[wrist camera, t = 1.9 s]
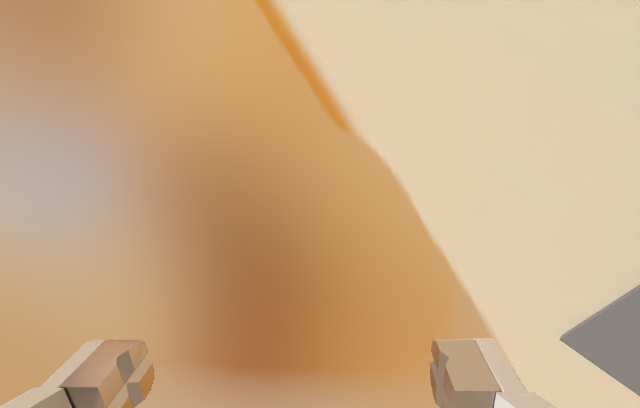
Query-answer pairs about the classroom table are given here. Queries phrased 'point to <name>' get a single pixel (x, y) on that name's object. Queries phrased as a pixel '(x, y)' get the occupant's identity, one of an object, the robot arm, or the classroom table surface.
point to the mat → (612, 339)
